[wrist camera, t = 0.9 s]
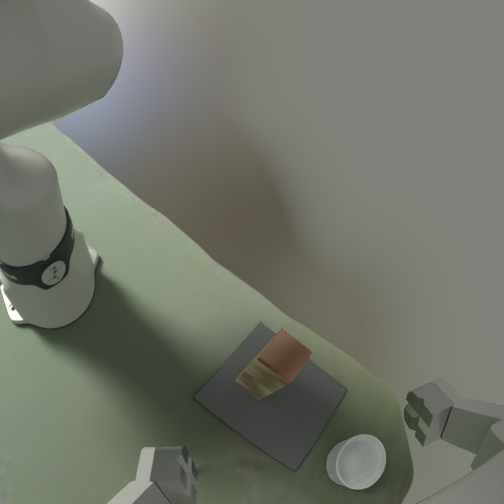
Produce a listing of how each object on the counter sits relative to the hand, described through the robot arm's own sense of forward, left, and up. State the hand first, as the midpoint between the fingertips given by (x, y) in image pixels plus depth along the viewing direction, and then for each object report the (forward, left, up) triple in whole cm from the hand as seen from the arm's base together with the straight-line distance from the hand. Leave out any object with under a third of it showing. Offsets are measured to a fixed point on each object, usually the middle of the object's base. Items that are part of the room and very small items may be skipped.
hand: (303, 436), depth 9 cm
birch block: (0, +13, -32) cm, 35 cm away
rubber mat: (+4, +13, -32) cm, 35 cm away
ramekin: (+20, +10, -33) cm, 40 cm away
